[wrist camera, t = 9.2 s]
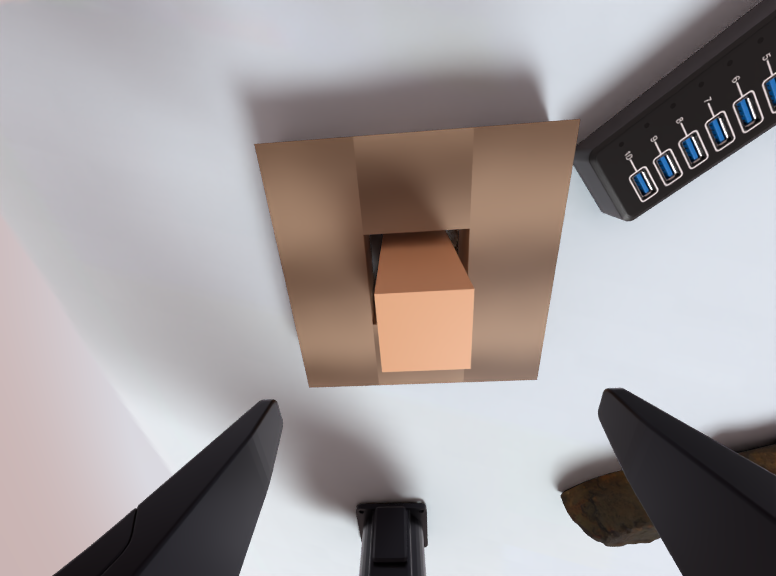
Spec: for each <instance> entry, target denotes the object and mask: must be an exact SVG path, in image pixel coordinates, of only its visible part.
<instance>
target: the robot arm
mask: <svg viewBox="0 0 776 576" xmlns="http://www.w3.org/2000/svg"><path fill="white" fill-rule="evenodd" d="M598 417H599V420H600V422H601V424H602V427H603V429H604V431H605V433H606V435H607V438H608V440H609V442H610V444H611V446H612V448H613V451H614V453H615V455H616V457H617V459H618V461H619V464H620V466H621V468H622V470H623V472H624V474H625V476H626V478H627V480H628V482H629V483H630V485H631V487H632V489H633V491H634V492H635V494H636V496H637V497H638V499H639V501H640V503H641V504H642V506H643V508H644V510H645V511H646V513H647V515H648V516H649V518H650V520H651V522H652V523H653V525H654V527H655V529H656V530H657V532H658V534H659V535H660V537H661V539H662V541H663V542H664V544H665V546H666V548H667V549H668V551H669V553H670V554H671V556H672V558H673V560H674V561H675V563H676V565H677V567H678V568H679V570H680V572H681V573H682V575H683V576H776V475H775V474H773V473H771V472H769V471H768V470H766V469H764V468H762V467H761V466H759V465H757V464H755V463H754V462H752V461H750V460H748V459H746V458H745V457H743V456H741V455H739V454H738V453H736V452H734V451H732V450H731V449H729V448H727V447H725V446H724V445H722V444H720V443H718V442H717V441H715V440H713V439H711V438H710V437H708V436H706V435H704V434H703V433H701V432H699V431H697V430H696V429H694V428H692V427H690V426H689V425H687V424H685V423H683V422H682V421H680V420H678V419H676V418H675V417H673V416H671V415H669V414H668V413H666V412H664V411H662V410H661V409H659V408H657V407H655V406H654V405H652V404H650V403H648V402H647V401H645V400H643V399H641V398H640V397H638V396H636V395H634V394H632V393H631V392H629V391H627V390H625V389H623V388H607V389H605V390H604V392H603V395H602V398H601V402H600V405H599V409H598ZM282 427H283V420H282V417H281V413H280V410H279V406H278V403H277V401H276V400H274V399H268V400H261V401H259V402H258V403H257V404H255V405H254V406H253V407H252V408H251V409H250V410H248V411H247V412H246V413H245V414H244V415H243V416H241V417H240V418H239V419H238V420H237V421H236V422H235V423H233V424H232V425H231V426H230V427H229V428H228V429H226V430H225V431H224V432H223V433H222V434H221V435H219V436H218V437H217V438H216V439H215V440H214V441H212V442H211V443H210V444H209V445H208V446H207V447H205V448H204V449H203V450H202V451H201V452H200V453H199V454H197V455H196V456H195V457H194V458H193V459H192V460H190V461H189V462H188V463H187V464H186V465H185V466H183V467H182V468H181V469H180V470H179V471H178V472H176V473H175V474H174V475H173V476H172V477H171V478H169V479H168V480H167V481H166V482H165V483H164V484H162V485H161V486H160V487H159V488H158V489H157V490H156V491H154V492H153V493H152V494H151V495H150V496H149V497H147V498H146V499H145V500H144V501H143V502H142V503H140V504H139V505H138V507H137V508H135V509H134V510H132V511H131V512H130V513H129V514H128V515H126V516H125V517H124V518H123V519H122V520H121V521H119V522H118V523H117V524H116V525H115V526H114V527H112V528H111V529H110V530H109V531H107V532H106V533H105V534H104V535H103V536H102V537H100V538H99V539H98V540H97V541H96V542H95V543H93V544H92V545H91V546H89V547H88V548H87V549H86V550H84V551H83V552H82V553H81V554H79V555H78V556H77V557H76V558H74V559H73V560H72V561H71V562H69V563H68V564H67V565H66V566H64V567H63V568H62V569H60V570H59V571H58V572H57V573H55V574H54V575H53V576H239V574H240V571H241V568H242V565H243V562H244V559H245V556H246V553H247V550H248V547H249V544H250V541H251V538H252V535H253V532H254V529H255V526H256V523H257V520H258V517H259V514H260V511H261V508H262V505H263V502H264V499H265V496H266V493H267V490H268V487H269V484H270V480H271V476H272V472H273V467H274V463H275V459H276V454H277V450H278V445H279V441H280V437H281V432H282ZM356 514H357V519H358V525H359V530H360V535H361V541H362V548H361V560H360V571H359V576H426V568H425V552H424V547H427V545H428V539H427V509H426V505H425V504H422V503H410V504H359V505H358V506H357V509H356Z"/></svg>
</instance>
